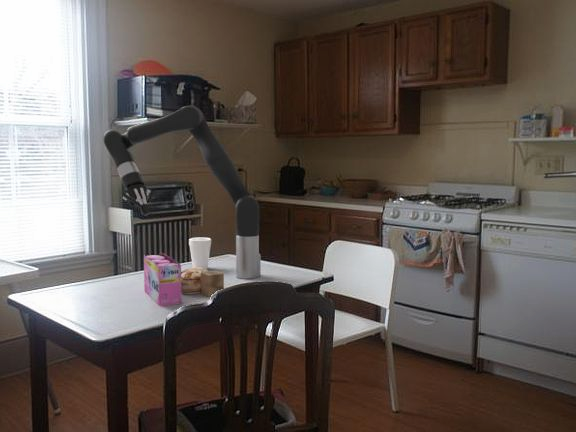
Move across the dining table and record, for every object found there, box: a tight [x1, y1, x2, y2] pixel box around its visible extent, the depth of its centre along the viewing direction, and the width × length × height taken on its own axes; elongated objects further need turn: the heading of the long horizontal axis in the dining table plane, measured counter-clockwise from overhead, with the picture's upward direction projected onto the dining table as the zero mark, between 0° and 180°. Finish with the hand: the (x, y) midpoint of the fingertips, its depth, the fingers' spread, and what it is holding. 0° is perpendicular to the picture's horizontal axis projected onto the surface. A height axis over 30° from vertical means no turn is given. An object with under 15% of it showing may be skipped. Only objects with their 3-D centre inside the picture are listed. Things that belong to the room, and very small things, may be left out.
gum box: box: [143, 252, 182, 307], centre depth 191 cm, size 24×8×14 cm, turn 28°
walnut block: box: [200, 270, 225, 298], centre depth 194 cm, size 6×6×8 cm
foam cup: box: [188, 236, 212, 270], centre depth 237 cm, size 10×9×13 cm
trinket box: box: [181, 267, 209, 295], centre depth 202 cm, size 13×15×8 cm
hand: (146, 214), depth 206 cm, fingers closed
